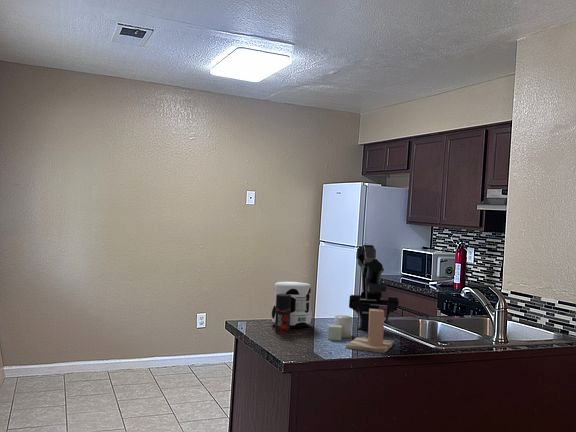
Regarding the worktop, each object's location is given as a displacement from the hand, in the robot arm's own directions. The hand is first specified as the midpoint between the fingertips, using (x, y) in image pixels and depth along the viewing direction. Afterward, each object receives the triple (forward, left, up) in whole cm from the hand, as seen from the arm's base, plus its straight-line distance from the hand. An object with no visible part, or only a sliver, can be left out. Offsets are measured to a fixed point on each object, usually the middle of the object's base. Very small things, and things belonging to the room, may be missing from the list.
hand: (374, 321), depth 210 cm
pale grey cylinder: (-7, -14, -9) cm, 18 cm away
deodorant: (+1, -37, -9) cm, 38 cm away
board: (+5, 0, -9) cm, 10 cm away
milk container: (-13, -39, -9) cm, 43 cm away
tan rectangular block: (+6, +2, -7) cm, 9 cm away
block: (0, -15, -9) cm, 18 cm away
